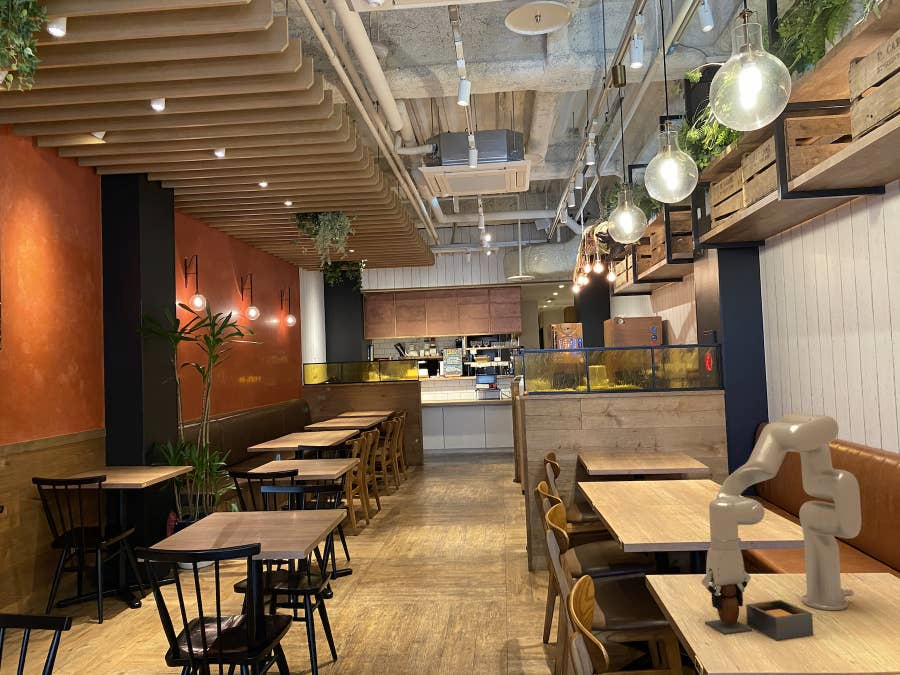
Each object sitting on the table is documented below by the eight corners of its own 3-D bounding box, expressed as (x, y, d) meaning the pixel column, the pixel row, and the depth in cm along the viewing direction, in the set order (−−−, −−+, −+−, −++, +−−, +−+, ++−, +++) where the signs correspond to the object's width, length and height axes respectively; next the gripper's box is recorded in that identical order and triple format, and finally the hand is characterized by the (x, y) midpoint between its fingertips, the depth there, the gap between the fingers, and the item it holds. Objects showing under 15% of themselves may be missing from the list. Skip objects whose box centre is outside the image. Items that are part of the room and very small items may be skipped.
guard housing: (781, 620, 202) (780, 599, 202) (813, 635, 190) (812, 613, 191) (747, 625, 199) (746, 604, 199) (776, 640, 187) (775, 618, 187)
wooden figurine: (741, 626, 194) (739, 572, 195) (720, 625, 195) (717, 572, 196) (736, 617, 201) (734, 565, 201) (716, 617, 202) (713, 565, 202)
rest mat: (731, 620, 203) (731, 618, 203) (752, 631, 195) (752, 628, 195) (704, 623, 201) (704, 621, 201) (724, 635, 192) (724, 632, 192)
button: (780, 614, 199) (780, 608, 199) (798, 622, 192) (798, 617, 192) (759, 617, 197) (759, 611, 197) (777, 626, 190) (777, 620, 190)
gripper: (741, 537, 205) (744, 598, 204) (690, 543, 200) (693, 606, 199) (758, 543, 197) (762, 607, 197) (706, 550, 193) (709, 614, 192)
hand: (727, 606), depth 198 cm, fingers closed on wooden figurine, 6 cm apart
